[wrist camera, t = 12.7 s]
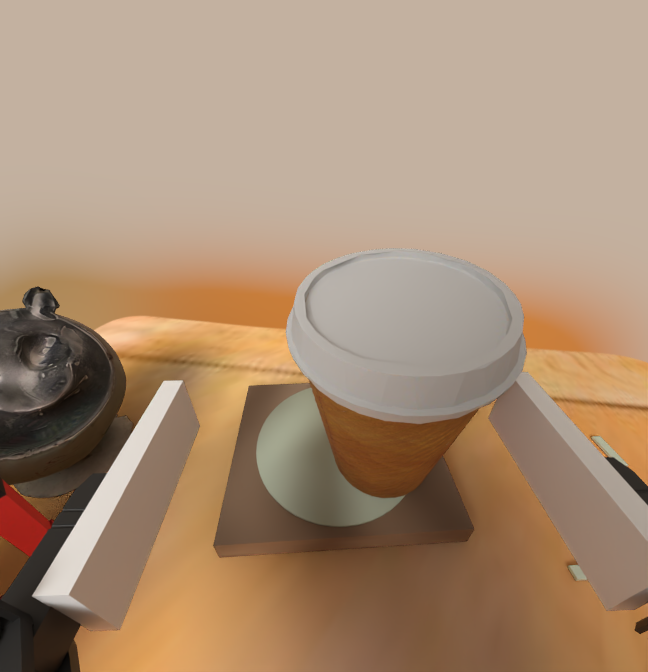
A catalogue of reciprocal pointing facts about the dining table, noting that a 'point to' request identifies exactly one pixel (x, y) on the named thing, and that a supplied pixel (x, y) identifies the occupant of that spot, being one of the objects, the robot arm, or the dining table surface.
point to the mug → (20, 520)
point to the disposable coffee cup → (402, 358)
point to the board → (318, 489)
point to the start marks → (609, 452)
